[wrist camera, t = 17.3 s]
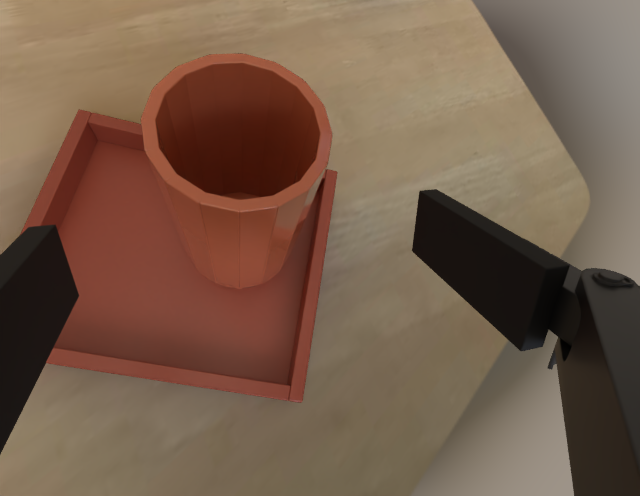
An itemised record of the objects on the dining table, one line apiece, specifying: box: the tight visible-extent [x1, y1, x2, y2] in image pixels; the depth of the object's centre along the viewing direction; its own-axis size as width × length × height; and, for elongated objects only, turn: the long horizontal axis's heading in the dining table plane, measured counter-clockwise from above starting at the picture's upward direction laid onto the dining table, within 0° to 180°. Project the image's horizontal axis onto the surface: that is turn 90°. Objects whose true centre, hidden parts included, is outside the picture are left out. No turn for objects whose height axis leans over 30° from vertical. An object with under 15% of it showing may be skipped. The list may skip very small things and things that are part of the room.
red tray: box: [20, 110, 337, 403], centre depth 24 cm, size 17×15×3 cm
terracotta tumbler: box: [141, 53, 332, 289], centre depth 20 cm, size 7×7×12 cm
